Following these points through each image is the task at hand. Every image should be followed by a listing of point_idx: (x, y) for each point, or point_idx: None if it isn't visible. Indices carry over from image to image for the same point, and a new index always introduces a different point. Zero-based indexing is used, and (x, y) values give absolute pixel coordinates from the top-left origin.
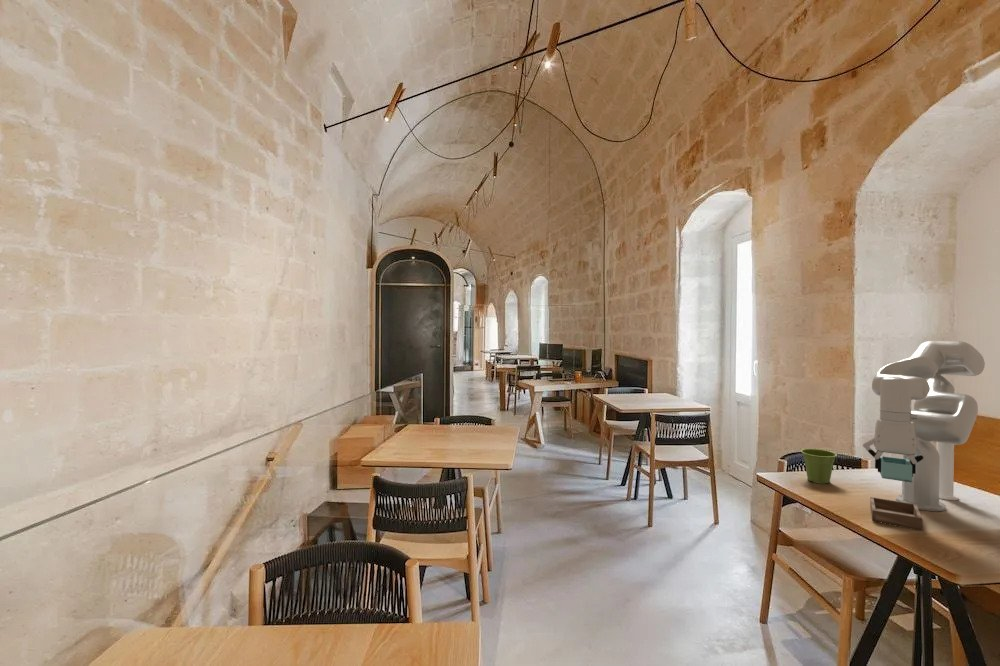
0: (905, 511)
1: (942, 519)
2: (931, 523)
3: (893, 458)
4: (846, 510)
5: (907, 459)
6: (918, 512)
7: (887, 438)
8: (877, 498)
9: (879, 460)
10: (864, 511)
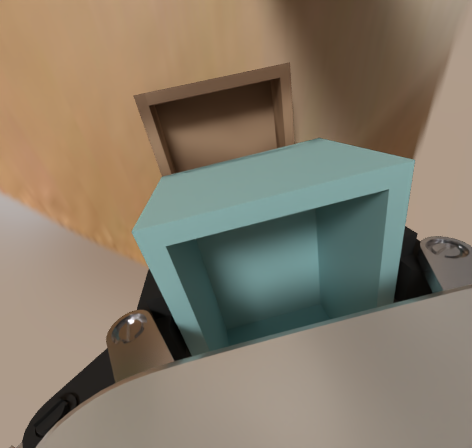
0: (249, 85)
1: (344, 49)
2: (310, 131)
3: (273, 213)
4: (110, 198)
5: (406, 181)
6: None
7: None
8: (161, 99)
9: (187, 357)
10: (148, 165)
